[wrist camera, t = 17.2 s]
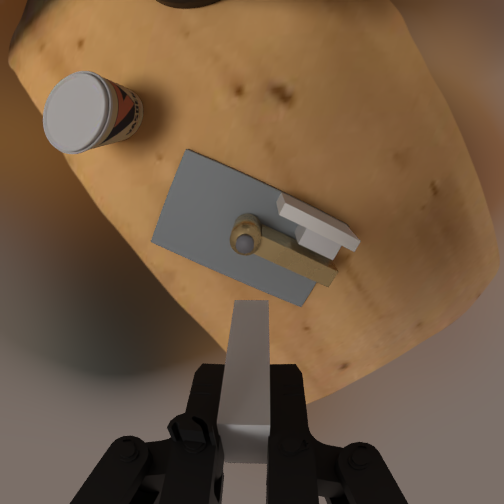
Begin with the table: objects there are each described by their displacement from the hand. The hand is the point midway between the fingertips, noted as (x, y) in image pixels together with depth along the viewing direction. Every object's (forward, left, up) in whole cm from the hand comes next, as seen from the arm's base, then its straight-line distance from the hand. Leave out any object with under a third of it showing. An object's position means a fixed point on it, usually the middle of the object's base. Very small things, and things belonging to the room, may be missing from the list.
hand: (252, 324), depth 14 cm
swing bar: (+4, +5, -26) cm, 27 cm away
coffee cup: (-3, -23, -28) cm, 36 cm away
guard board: (+5, +1, -28) cm, 28 cm away
